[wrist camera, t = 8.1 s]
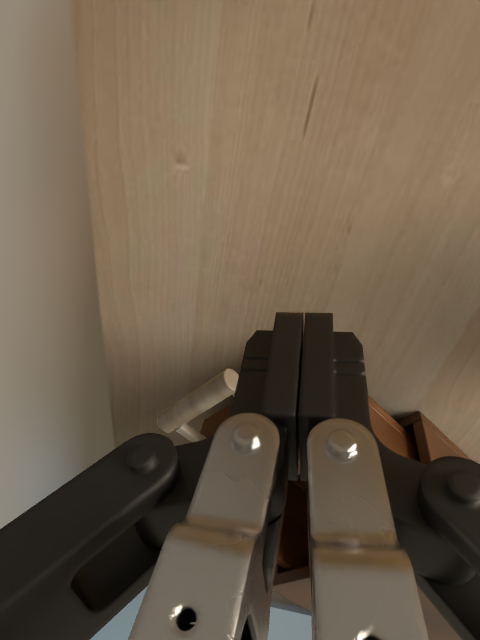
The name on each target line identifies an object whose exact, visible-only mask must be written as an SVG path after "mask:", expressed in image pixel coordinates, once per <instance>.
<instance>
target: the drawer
mask: <svg viewBox="0 0 480 640" xmlns="http://www.w3.org/2000/svg"><path fill="white" fill-rule="evenodd" d="M238 377H239V375H238V374H237V373H236V372H235V371H234V370H232V369H225V370H224V371H222V372H221V373H219V374H218V375H216V376H215V377H213V378H212V379H210V380H209V381H207V382H206V383H205V384H203V385H202V386H200V387H199V388H197V389H196V390H194V391H193V392H191V393H190V394H188V395H187V396H185V397H184V398H182V399H181V400H179V401H178V402H176V403H175V404H173V405H172V406H170V407H169V408H167V409H166V410H164V411H163V412H161V413H160V414H159V415H158V418H157V423H158V426H159V428H160V429H161V430H162V431H164V432H167V433H170V432H172V431H174V430H175V429H176V430H175V431H176V432H178V433H179V434H180V435H182V436H183V437H185V438H186V439H188V440H189V441H191V442H197V441H200V440H204V439H206V438H208V437H210V436H212V435H214V434H215V433H216V431H217V429H218V428H219V426H220V425H221V424H222V423H223V422H224V421H225V420H227V419H228V418H229V415H230V412H231V407H232V404H230V405H228V406H227V407H225V408H223V409H222V410H220V411H218V412H217V413H215V414H213V415H212V416H210V417H208V418H207V419H205V420H204V422H203V425H202V428H201V432H200V433H199V432H198V431H196V430H195V429H194V428H192V427H191V426H189V425H188V424H187V422H188V421H190V420H192V419H193V418H195V417H197V416H198V415H200V414H201V413H203V412H205V411H206V410H208V409H210V408H211V407H213V406H214V405H216V404H218V403H219V402H221V401H223V400H224V399H226V398H227V397H229V396H231V395H232V394H233V397H234V394H235V390H236V386H237V382H238ZM368 403H369V412H370V421H371V426H372V429H373V432H374V433H375V435H376V437H377V438H378V439H379V440H380V441H381V442H382V443H383V444H384V445H385V446H386V447H387V448H389V449H390V450H392V451H393V452H395V453H397V454H399V455H402V456H404V457H407V458H410V459H412V460H415V461H418V462H420V458H419V453H418V448H417V443H416V439H415V438H414V437H413V436H411V435H410V434H409V433H408V432H407V431H406V430H405V429H404V428H403V427H402V426H401V425H399V424H398V423H397V422H396V421H395V420H394V419H393V418H392V417H391V416H390V415H388V414H387V413H386V412H385V411H384V410H383V409H382V408H381V407H380V406H379V405H377V404H376V403H375V402H374V401H373V400H372V399H371V398H370V397H369V396H368ZM276 564H278V565H280V566H281V567H283V568H284V569H286V570H288V571H290V570H294V569H298V568H302V567H306V566H310V564H309V541H308V518H307V481H300V449H299V462H298V479H297V481H296V480H288V486H287V499H286V505H285V507H284V518H283V524H282V531H281V537H280V543H279V549H278V556H277V562H276Z"/></svg>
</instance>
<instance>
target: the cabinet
mask: <svg viewBox="0 0 480 640" xmlns="http://www.w3.org/2000/svg"><path fill="white" fill-rule="evenodd" d="M396 422H397V423H398V424H399V425H401V426H402V427H403V428H404V429H405V430H406V431H407V432H408V433H409V434H410V435H411V436H413V437H414V438H415V439H416V443H417V448H418V453H419V458H420V462H421V463H424V464H428V463H430V462H431V461H432V460H434V459H436V458H440V457H445V456H457V457H463V458H466V459H469V458H468V457H467V456H466V455H465V454H464V453H463V452H462V451H461V450H460V449H459V448H458V447H457V446H456V445H455V444H454V443H453V442H452V441H450V440H449V439H448V438H447V437H446V436H445V435H444V434H443V433H442V432H441V431H440V430H439V429H438V428H437V427H436V426H435V425H434V424H433V423H432V422H431V421H429V420H428V419H427V418H426V417H425V416H424V415H423V414H422V413H421V412H420V411H419V412H417V413H415V414H412V415H410V416H408V417H405V418H403V419H401V420H398V421H396ZM469 460H470V459H469ZM272 589H273V590H275V591H276V592H278V593H280V594H281V595H283V596H285V597H286V598H288V599H290V600H291V601H293V602H295V603H297V604H298V605H300V606H302V607H303V608H305V609H307V610H308V611H310V612H311V587H310V566H306V567H302V568H298V569H294V570H290V571H288V570H286V569H284V568H283V567H281V566H280V565H278V564H276V568H275V574H274V581H273V587H272ZM417 590H418V594H419V598H420V603H421V607H422V612H423V616H424V620H425V625H426V629H427V634H428V638H429V640H462V639H461V638H460V637H459V635H458V634H457V633H456V632H455V631H454V629H453V628H452V627H451V626H450V625H449V623H448V622H447V621H446V620H445V619H444V617H443V616H442V615H441V614H440V613H439V611H438V610H437V609H436V608H435V606H434V605H433V604H432V603H431V602H430V600H429V599H428V598H427V597H426V596H425V594H424V593H423V592H422V591H421V590H420V588H419V587H418V586H417Z"/></svg>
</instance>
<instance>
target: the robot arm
mask: <svg viewBox="0 0 480 640" xmlns="http://www.w3.org/2000/svg"><path fill="white" fill-rule="evenodd" d="M299 449H300V481H307V518H308V541H309V564H310V587H311V612H312V640H429V638H428V634H427V629H426V625H425V620H424V616H423V612H422V607H421V603H420V598H419V594H418V590H417V586H418V587H419V588H420V590H421V591H422V592H423V593H424V594H425V596H426V597H427V598H428V599H429V600H430V602H431V603H432V604H433V605H434V606H435V608H436V609H437V610H438V611H439V613H440V614H441V615H442V616H443V617H444V619H445V620H446V621H447V622H448V623H449V625H450V626H451V627H452V628H453V629H454V631H455V632H456V633H457V634H458V635H459V637H460V638H461V639H462V640H480V464H478V463H476V462H474V461H472V460H469V459H466V458H463V457H457V456H445V457H440V458H436V459H434V460H432V461H431V462H430V463H428V464H424V463H421V462H418V461H415V460H412V459H410V458H407V457H404V456H402V455H399V454H397V453H395V452H393V451H392V450H390V449H389V448H387V447H386V446H385V445H384V444H383V443H382V442H381V441H380V440H379V439H378V438H377V437H376V435H375V433H374V432H373V429H372V426H371V421H370V412H369V403H368V394H367V384H366V376H365V366H364V357H363V348H362V344H361V343H360V342H359V340H358V339H357V338H356V336H355V335H354V334H353V332H333V314H332V313H305V325H304V320H303V313H285V312H277V313H276V317H275V323H274V329H273V331H265V330H257V331H256V332H255V333H254V334H253V336H252V337H251V338H250V339H249V340H248V341H247V343H246V347H245V351H244V356H243V360H242V364H241V371H240V373H239V377H238V382H237V386H236V390H235V394H234V399H233V403H232V407H231V412H230V415H229V418H228V419H227V420H225V421H224V422H223V423H222V424H221V425H220V426H219V428H218V429H217V431H216V433H215V434H214V435H212V436H210V437H208V438H206V439H204V440H200V441H197V442H192V443H188V444H183V445H178V446H174V444H173V442H172V441H171V440H170V439H169V438H167V437H166V436H164V435H161V434H157V433H146V434H141V435H138V436H135V437H133V438H131V439H129V440H127V441H126V442H124V443H123V444H122V445H120V446H119V447H117V448H116V449H114V450H113V451H112V452H110V453H109V454H107V455H106V456H104V457H103V458H102V459H100V460H99V461H97V462H96V463H94V464H93V465H92V466H90V467H89V468H87V469H86V470H84V471H83V472H82V473H80V474H79V475H77V476H76V477H74V478H73V479H72V480H70V481H69V482H67V483H66V484H64V485H63V486H61V487H60V488H59V489H57V490H56V491H54V492H53V493H51V494H50V495H49V496H47V497H46V498H45V499H43V500H41V501H40V502H39V503H37V504H36V505H34V506H33V507H31V508H30V509H29V510H27V511H26V512H25V513H23V514H22V515H20V516H19V517H17V518H16V519H14V520H13V521H11V522H10V523H9V524H7V525H6V526H4V527H3V528H2V529H0V640H90V639H91V638H92V637H93V636H94V635H95V634H96V633H97V632H98V631H99V630H100V629H101V628H102V627H104V626H105V625H106V624H107V623H108V622H109V621H110V620H111V619H112V618H113V617H114V616H115V615H117V614H118V612H120V611H121V610H122V609H123V608H124V607H125V606H126V605H127V604H128V603H129V602H130V601H132V600H133V599H134V598H135V597H136V596H137V595H138V594H139V593H140V592H141V591H142V590H143V589H145V587H147V586H148V587H147V590H146V593H145V596H144V598H143V601H142V603H141V606H140V609H139V611H138V614H137V617H136V619H135V622H134V625H133V628H132V630H131V633H130V636H129V638H128V640H267V638H268V629H269V617H270V615H269V614H270V601H271V593H272V587H273V581H274V574H275V568H276V562H277V556H278V549H279V543H280V537H281V531H282V524H283V518H284V507H285V505H286V499H287V486H288V480H296V481H297V479H298V462H299Z"/></svg>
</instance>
